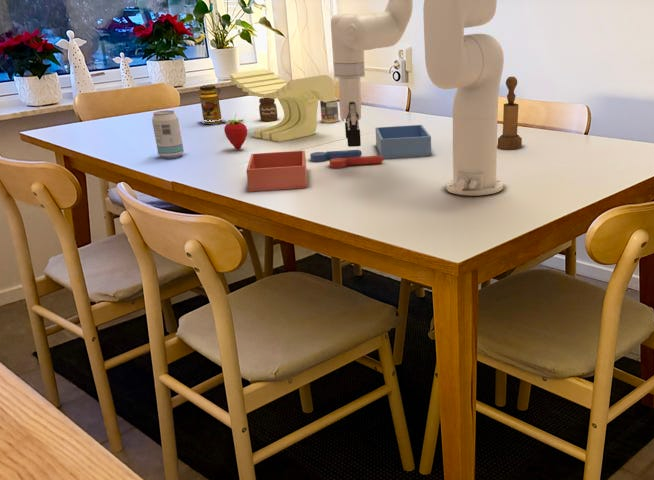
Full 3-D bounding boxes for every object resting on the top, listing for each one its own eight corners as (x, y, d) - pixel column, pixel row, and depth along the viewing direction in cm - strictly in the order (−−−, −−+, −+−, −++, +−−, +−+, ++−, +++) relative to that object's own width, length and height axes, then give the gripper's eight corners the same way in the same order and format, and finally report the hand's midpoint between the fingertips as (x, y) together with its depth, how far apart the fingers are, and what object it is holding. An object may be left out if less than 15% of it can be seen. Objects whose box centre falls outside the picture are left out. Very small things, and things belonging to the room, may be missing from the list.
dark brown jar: (259, 119, 256) (254, 82, 250) (277, 117, 257) (273, 81, 252) (261, 122, 251) (257, 84, 245) (280, 120, 252) (275, 83, 247)
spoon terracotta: (382, 161, 192) (381, 153, 191) (383, 165, 188) (383, 157, 187) (329, 164, 191) (328, 156, 190) (330, 168, 187) (329, 160, 186)
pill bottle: (319, 121, 248) (316, 90, 243) (335, 119, 250) (332, 88, 245) (325, 123, 243) (322, 92, 239) (341, 121, 245) (339, 90, 241)
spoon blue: (361, 155, 199) (361, 147, 198) (362, 158, 195) (362, 151, 194) (310, 158, 198) (309, 150, 197) (310, 162, 194) (309, 154, 193)
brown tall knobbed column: (520, 149, 198) (523, 78, 189) (496, 149, 199) (498, 78, 191) (522, 144, 203) (524, 74, 195) (498, 144, 205) (500, 75, 196)
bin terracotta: (306, 187, 171) (304, 166, 169) (249, 191, 170) (246, 169, 168) (306, 170, 186) (304, 150, 184) (254, 173, 185) (251, 153, 183)
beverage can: (189, 154, 209) (181, 110, 203) (176, 159, 203) (168, 114, 198) (167, 153, 211) (159, 110, 205) (154, 159, 205) (145, 114, 199)
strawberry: (239, 146, 216) (234, 110, 211) (254, 149, 211) (249, 113, 207) (222, 149, 212) (217, 113, 208) (237, 153, 208) (232, 116, 203)
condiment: (205, 125, 249) (199, 88, 243) (199, 122, 255) (193, 85, 250) (226, 123, 251) (221, 86, 246) (220, 119, 258) (214, 83, 253)
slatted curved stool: (338, 135, 224) (333, 73, 216) (296, 145, 214) (290, 80, 206) (278, 125, 243) (272, 68, 235) (238, 133, 234) (229, 73, 225)
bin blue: (431, 155, 195) (431, 136, 193) (381, 158, 194) (380, 139, 192) (422, 142, 211) (421, 124, 208) (376, 145, 209) (375, 127, 207)
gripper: (332, 66, 186) (337, 135, 194) (335, 75, 171) (339, 150, 179) (362, 65, 187) (365, 134, 195) (367, 74, 172) (370, 148, 180)
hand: (353, 142), depth 187 cm, fingers open, 9 cm apart
